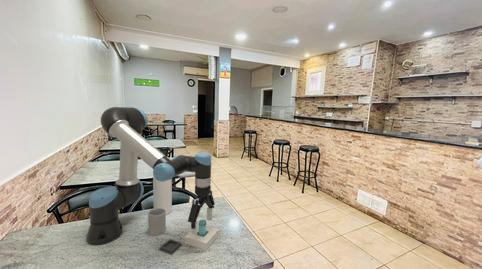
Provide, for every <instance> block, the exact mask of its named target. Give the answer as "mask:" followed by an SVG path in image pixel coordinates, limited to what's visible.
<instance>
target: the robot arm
mask: <svg viewBox="0 0 482 269" xmlns="http://www.w3.org/2000/svg"><path fill="white" fill-rule="evenodd" d="M148 120H149V119H148V116H147V113H145V111H144V110H143V109H141V108H138V107H131V106H130V107H128V106H127V107H123V106H121V107H119V106H113V107H109V108H108V109H106V110H104V111H103V113H102V114H101V116H100V124H101V127H102V129H103V130H104V132H105V133H107V135H109V136H110V137H112V138H116V139H117V140H119V141H120V144H119V146H120V147H119V148H120V150H119V152H120V153H119V174H118V179H117V180H115V186H105V187H101V188H97V189H96V190H94V191H93V192H92V193H91V194H90V195H89V200H88V201H89V202H88V206H89V220H90V222H89V223H90V224H89V227H88V231H87V233H86V242H87V243H88V244H89V245H91V246H92V245H93V246H101V245H105V244H108V243H111V242H113V241H115V240H117V239H118V238H120V237H121V236H122V234H123V233H124V229H123V227H124V226H123V224H122V222H121V221H120V218H119V210H122V209H123V208H126V207H127V206H129V205H132V204H133V203H136V202H137V201H139V200H140V199H141V198H142V197H143V194H144V185H143V183H142V181H140V179H139V178H138V163H139V160H138V159H139V158H140V160H142V161H143V162H144V163H145V164H146V165H147V166H149V167H150V168H151V169H152V173H153V174H152V176H153V175H154V176H155V179H156V180H158V181H161V182H163V181H167V180H170V179H172V180H173V178H175V177H177V176H179V175H181V174H183V173H187V172H188V173H194V194H195V195H196V199H194V198H193V199H192V202H191V203H192V204H191V208H190V212H189V214H188V219H187V223H190V229H191V230H190V231H191V234H194V235H197V225H198V220H197V219H198V217H199V214H200V212H201V209H202V208H203V205H206V206H207V207H206V221H213V209H215V205H216V202H215V199H214V196H213V191H212V190H211V189H212V184H211V183H212V165H213V164H212V154H210V153H208V152H199V153H196V154H195V156H190V155H184V154H177V155H174V156H173V157H172V159H170V158H169V157H168V156H166V155H165V154H164V153H163V152H162V151H160V150H159V149H158V148H157V147H155V146H154V145H153V144H152V143H151V142H150V141H148V140H147V139H145V137H143V136H142V135H143V129H145V128H146V127H147V125H148Z"/></svg>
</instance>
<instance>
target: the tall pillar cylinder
mask: <svg viewBox="0 0 482 269" xmlns="http://www.w3.org/2000/svg"><path fill="white" fill-rule="evenodd" d="M172 181H173V178H172V179H170V180H167V181H163V182H161V181H158V180H156V179H155V176H154V175H153V174H152V188H153V189H152V190H153V192H152V194H153V198H152V199H153V204H152V205H153V209H156V208H162V209H165V211H166V216H167V215H169V214H171V213H172V211H173V210H172V208H173V207H172V206H173V205H172V204H173V200H172V198H173V195H172V192H173V190H172V189H173V187H172V186H173V185H172V184H173V182H172Z"/></svg>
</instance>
